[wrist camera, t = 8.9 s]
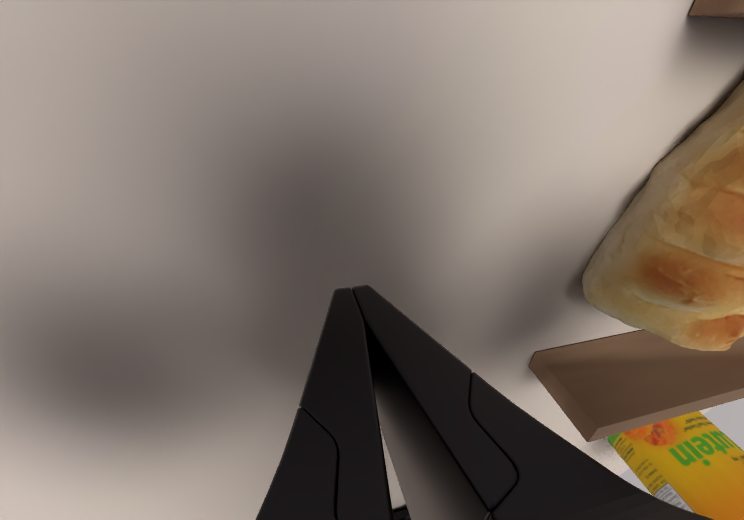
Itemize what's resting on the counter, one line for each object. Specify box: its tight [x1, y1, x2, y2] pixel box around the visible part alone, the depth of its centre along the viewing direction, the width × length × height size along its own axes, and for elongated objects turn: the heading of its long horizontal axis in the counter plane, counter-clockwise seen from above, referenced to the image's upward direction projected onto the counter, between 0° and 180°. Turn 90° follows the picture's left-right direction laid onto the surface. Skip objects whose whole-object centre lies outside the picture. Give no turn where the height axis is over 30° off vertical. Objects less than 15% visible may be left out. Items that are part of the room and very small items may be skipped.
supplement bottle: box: [605, 411, 744, 520], centre depth 18 cm, size 5×5×10 cm
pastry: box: [582, 79, 744, 351], centre depth 10 cm, size 9×7×4 cm
